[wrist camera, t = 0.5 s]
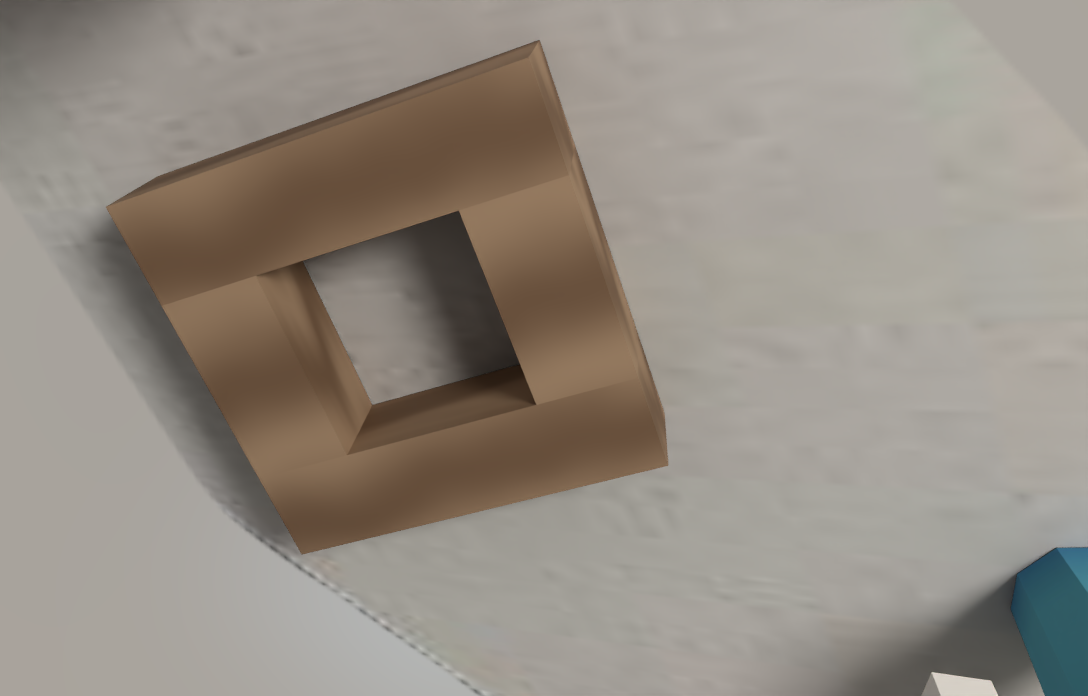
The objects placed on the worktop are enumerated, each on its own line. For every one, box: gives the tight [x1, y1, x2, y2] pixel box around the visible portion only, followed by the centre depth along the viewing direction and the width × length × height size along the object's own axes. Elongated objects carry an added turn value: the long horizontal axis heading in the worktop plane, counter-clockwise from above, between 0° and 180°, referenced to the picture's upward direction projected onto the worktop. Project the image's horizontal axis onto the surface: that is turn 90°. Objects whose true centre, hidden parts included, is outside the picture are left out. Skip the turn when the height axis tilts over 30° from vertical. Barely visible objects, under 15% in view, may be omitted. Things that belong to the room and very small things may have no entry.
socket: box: [106, 40, 668, 554], centre depth 35 cm, size 16×16×4 cm
